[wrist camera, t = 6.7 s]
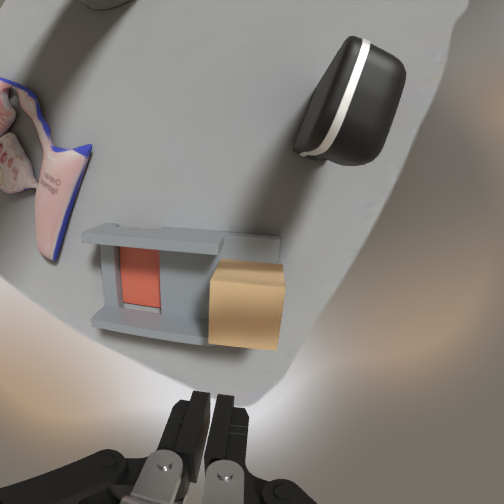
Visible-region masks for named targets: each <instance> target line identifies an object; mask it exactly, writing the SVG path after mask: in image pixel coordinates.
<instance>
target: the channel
mask: <svg viewBox="0 0 504 504" xmlns="http://www.w3.org/2000/svg"><path fill="white" fill-rule="evenodd" d="M81 238H82V243H90V244H100V256H101V269H102V280H103V290H104V299H105V306H104V307H103V308H101V309H100V310H99V311H98V312H97V313H96V314H95V315H94V316H93V317H92V318H91V323H92V326H93V327H97V328H102V329H107V330H111V331H116V332H121V333H127V334H132V335H137V336H143V337H149V338H155V339H161V340H167V341H174V342H181V343H188V344H195V345H203V346H211V347H215V345H216V344H209V343H208V339H209V300H210V280H211V278H212V276H213V274H214V272H215V270H216V268H217V266H218V264H219V262H220V260H221V259H232V260H242V261H253V262H263V263H274V264H278V262H279V252H280V242H281V238H280V236H270V235H258V234H246V233H234V232H222V231H209V230H196V229H183V228H169V227H163V228H162V229H160V230H153V229H139V228H125V227H119V224H110V223H104V224H102V225H100V226H97V227H95V228H92V229H90V230H87V231H85V232H83V233H81ZM123 302H126V303H132V304H139V305H146V306H152V307H160V308H161V314H159V313H152V312H145V311H139V310H132V309H126V308H124V303H123Z"/></svg>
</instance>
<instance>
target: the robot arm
mask: <svg viewBox="0 0 504 504" xmlns="http://www.w3.org/2000/svg"><path fill="white" fill-rule="evenodd" d="M81 1H82V2H83V3H85V4H86V5H87V6H89V7H90V8H93V9H102V10H103V9H109V8H113V7H116V6H119V5H121V4H123V3H125V2H128V1H129V0H81ZM248 422H249V416H248V414H247V412H246V410H245V408H237V407H234V396H230V395H222V394H218V395H217V400H216V404H215V409H214V413H213V418H212V423H211V427H210V432H209V436H208V442H207V446H206V450H205V455H204V464H205V484H204V492H203V500H202V504H317V503H316V502H315V501H314V500H313V499H311V498H310V497H309V496H308V495H307V494H306V493H305V492H304V491H303V490H302V489H301V488H300V487H299V486H298V485H296V484H295V483H294V482H292V481H289V480H286V479H276V480H273V481H270V482H269V481H266V480H262V479H260V478H257V477H255V476H253V475H252V474H251V473H250V472H249V471H248V470H247V468H246V465H245V457H246V446H247V435H248ZM209 423H210V393H207V392H200V391H193V393H192V396H191V399H190V401H185V400H180V401H179V402H178V403H176V404H175V405H174V406H173V408H172V411H171V413H170V417H169V419H168V422H167V424H166V427H165V430H164V432H163V435H162V438H161V440H160V443H159V446H158V448H157V450H156V451H155V452H153V453H151V454H150V455H149V456H148V457H145V458H137V459H136V458H135V459H134V458H129V459H128V458H124V456H123V455H122V454H120V453H119V452H117V451H115V450H111V449H105V450H101V451H99V452H96V453H94V454H92V455H90V456H87V457H85V458H83V459H81V460H78V461H76V462H73V463H71V464H68V465H66V466H63V467H61V468H58V469H56V470H53V471H50V472H48V473H45V474H42V475H39V476H37V477H34V478H31V479H28V480H25V481H22V482H19V483H16V484H13V485H10V486H7V487H3V488H0V504H185V502H186V499H187V493H188V489H189V485H190V482H193V483H197V478H198V473H199V469H200V465H201V460H202V456H203V451H204V447H205V442H206V438H207V433H208V429H209Z"/></svg>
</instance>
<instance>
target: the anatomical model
mask: <svg viewBox="0 0 504 504" xmlns="http://www.w3.org/2000/svg"><path fill="white" fill-rule="evenodd" d="M12 86H15V87H16V90H17V92H18V96H19V100H20V104H21V107H22V109H23V110H24V111H25V112H26V113H27V114H28V115H29V116H30V117H31V118H32V120H33V122H34V124H35V127H36V129H37V132H38V135H39V139H40V142H41V145H42V148H43V160H42V165H41V170H40V177H39V183H38V182H37V181H36V179H35V177H34V174H33V168H32V164H31V162H30V161H29V159H28V158H27V156H26V154H25V151H24V150H23V148H22V146H21V145H20V143H19V141H18V139H17V137H16V135H15V134H13V133H11V132H9V133H6V132H7V131H8V129H9V128H10V126H11V125H12V123H13V122H14V120H15V117H16V111H15V110H14V109H13V108H12V106H11V105H10V102H9V98H8V93H9V89H10V88H11V87H12ZM5 133H6V134H5ZM4 134H5V135H4ZM91 150H92V145H91V144H88V145H84V146H81V147H77V148H73V149H62V148H58V147H55V146H54V145H53V143H52V141H51V131H50V128H49V126H48V124H47V123H46V121H45V120H44V119H43V116H42V113H41V109H40V105H39V101H38V99H37V96H36V95H35V94H34V93H33V92H31V91H30V90H29V89H27V88H26V87H24V86H22V85H20V84H18V83H15V82H13V81H10V80H7V79H4V78H1V77H0V189H1V190H2V191H4V192H6V193H8V194H14V193H19V192H21V191H24V190H27V189H30V188H36V189H37V190H36V194H35V230H36V241H37V247H38V250H39V252H40V253H41V254H42V255H43V256H45V257H46V258H48V259H50V260H53V261H55V260H56V259H57V257H58V254H59V251H60V248H61V244H62V241H63V237H64V234H65V231H66V227H67V224H68V220H69V217H70V214H71V211H72V207H73V204H74V201H75V198H76V195H77V192H78V189H79V186H80V184H81V180H82V178H83V175H84V171H85V168H86V165H87V162H88V159H89V156H90V153H91Z"/></svg>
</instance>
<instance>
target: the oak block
mask: <svg viewBox="0 0 504 504" xmlns="http://www.w3.org/2000/svg"><path fill="white" fill-rule="evenodd" d="M285 289H286V287H285V280H284V273H283V266H282V264H274V263H263V262H253V261H242V260H232V259H221V260H220V262H219V264H218V266H217V268H216V270H215V272H214V274H213V276H212V278H211V280H210V300H209V339H208V343H209V344H217V345H225V346H234V347H244V348H254V349H265V350H277V345H278V339H279V332H280V325H281V318H282V311H283V304H284V296H285Z"/></svg>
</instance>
